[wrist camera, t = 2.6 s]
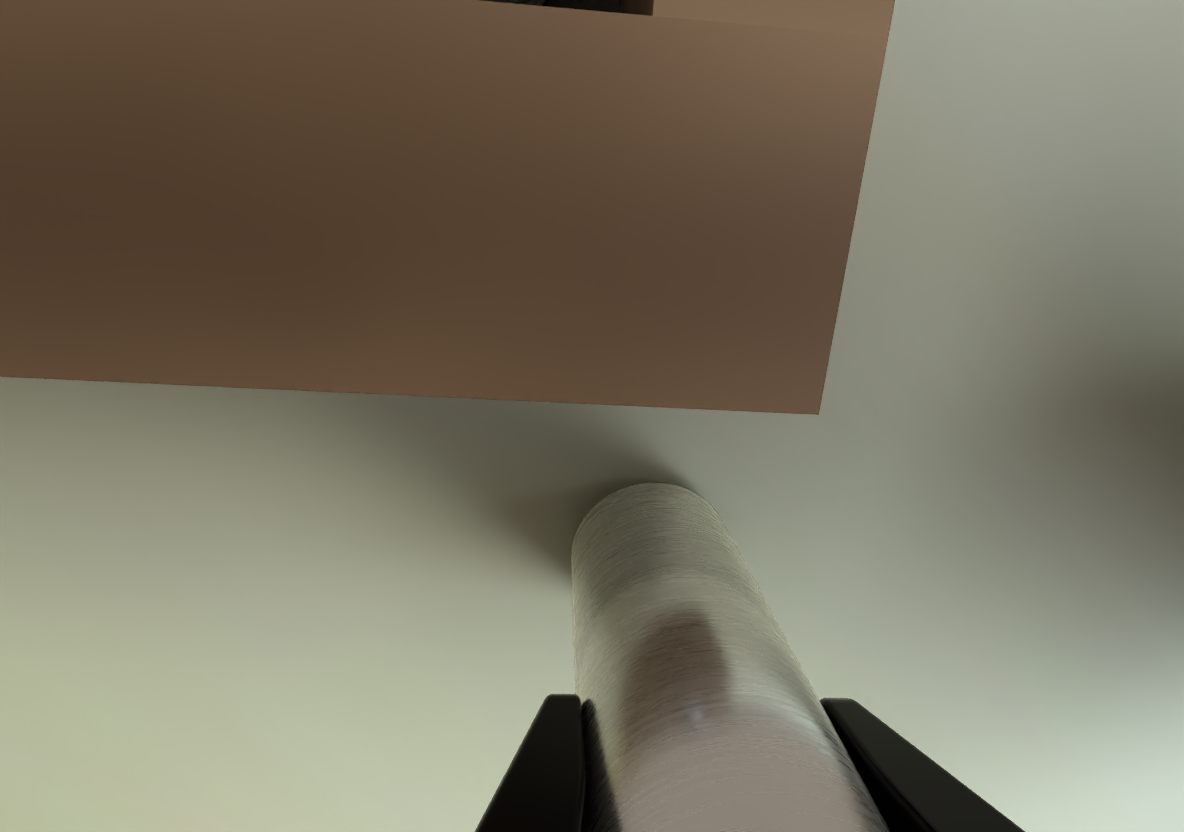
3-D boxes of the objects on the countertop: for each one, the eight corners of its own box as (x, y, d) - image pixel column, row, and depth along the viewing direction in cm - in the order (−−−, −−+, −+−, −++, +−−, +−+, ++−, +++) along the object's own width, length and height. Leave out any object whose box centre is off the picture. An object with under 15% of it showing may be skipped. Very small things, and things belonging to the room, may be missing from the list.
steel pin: (738, 485, 11) (1127, 1056, 3) (718, 624, 12) (991, 1319, 4) (575, 479, 11) (610, 1071, 3) (566, 620, 12) (579, 1342, 4)
